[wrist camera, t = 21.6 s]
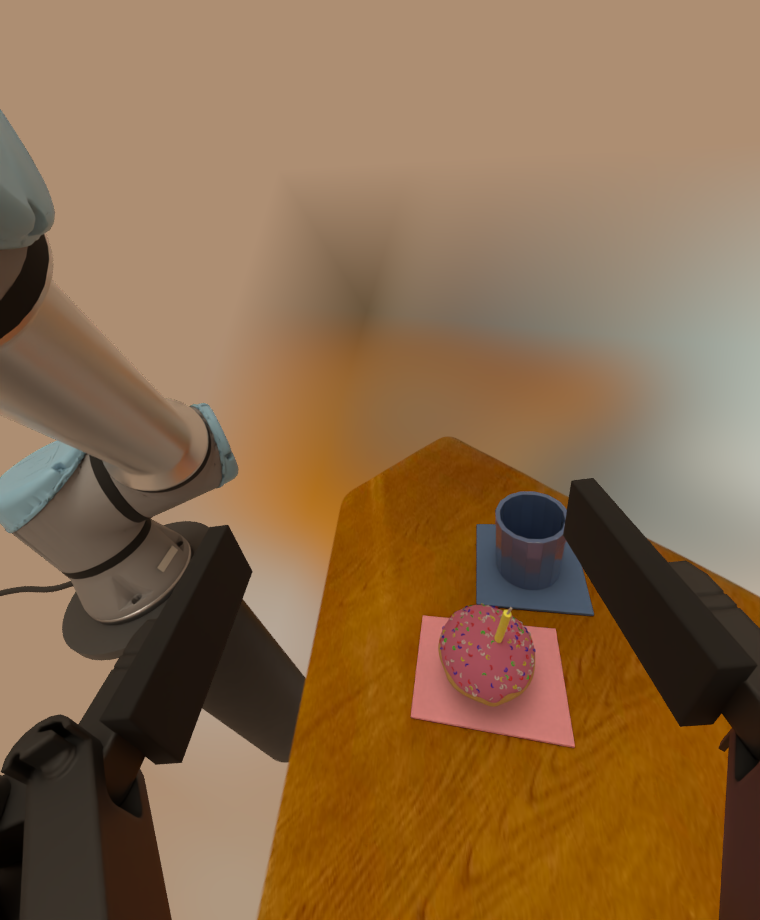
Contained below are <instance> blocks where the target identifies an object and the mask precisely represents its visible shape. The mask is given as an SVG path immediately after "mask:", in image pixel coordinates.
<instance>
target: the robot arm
mask: <svg viewBox="0 0 760 920" xmlns="http://www.w3.org/2000/svg"><path fill="white" fill-rule="evenodd" d="M54 215H55V211H54V207H53V203H52V200H51V197H50V194H49V191H48V189H47V187H46V184H45V182H44V180H43V178H42V176H41V174H40V173H39V171H38V169H37V167H36V165H35V164H34V162H33V160H32V158H31V156H30V155H29V153H28V151H27V150H26V148H25V146H24V145H23V143H22V142H21V140H20V139H19V137H18V135H17V134H16V132H15V130H14V129H13V127H12V126H11V124H10V123H9V121H8V120H7V118H6V117H5V115H4V114H3V112H2V111H1V110H0V415H1V416H3V417H6V418H8V419H10V420H12V421H14V422H17V423H19V424H21V425H23V426H26V427H28V428H30V429H33V430H35V431H37V432H39V433H42V434H44V435H46V436H48V437H51V438H53V439H55V440H57V441H55V442H53V443H51V444H48V445H46V446H44V447H42V448H41V449H39V450H37V451H35V452H34V453H32V454H30V455H29V456H27V457H26V458H24V459H23V460H21V461H20V462H18V463H17V464H16V465H14V466H13V467H12V468H11V469H9V470H8V471H7V472H5V473H4V474H3V475H2V476H1V477H0V524H1V525H2V526H3V527H4V528H5V530H6V531H7V532H8V533H12V534H14V536H16V537H17V538H18V539H20V540H21V541H22V542H23V543H25V544H26V545H27V546H29V547H30V548H31V549H32V550H34V551H35V552H36V553H38V554H39V555H40V556H41V557H43V558H44V559H45V560H47V561H48V562H49V563H51V564H52V565H53V566H54V567H56V568H57V569H58V570H60V571H61V572H62V573H63V574H65V575H66V576H67V577H68V578H69V579H70V580H71V581H69V582H67V583H63V584H60V585H56V586H49V587H35V586H27V587H26V586H24V587H16V588H10V589H5V590H1V591H0V596H3V595H7V594H12V593H19V592H54V591H59V590H62V589H65V588H68V587H72V586H74V588H75V590H76V593H77V595H78V597H79V599H80V601H81V603H82V605H83V607H84V609H85V611H86V612H87V613H88V614H89V615H90V616H91V617H92V618H93V619H95V620H96V621H97V622H99V623H101V624H104V625H120V624H125V623H128V622H131V621H133V620H136V619H138V618H140V617H142V616H144V615H146V614H148V613H149V612H151V611H153V610H154V609H155V608H157V607H158V606H160V605H161V604H162V603H163V602H165V601H166V600H167V599H168V598H169V599H168V601H167V603H166V604H165V606H164V608H163V610H162V611H161V613H160V615H159V617H158V618H157V619H149V620H147V621H146V622H145V623H144V624H143V625H142V626H141V627H140V628H139V629H138V630H137V631H136V632H135V634H134V635H133V636H132V638H131V639H130V641H129V642H128V644H127V646H126V647H125V649H124V651H123V655H121V656H120V657H119V659H118V661H117V662H116V664H115V666H114V669H113V670H111V672H110V674H109V675H108V677H107V679H106V680H105V682H104V683H103V685H102V687H101V688H100V690H99V692H98V693H97V695H96V697H95V698H94V700H93V702H92V703H91V705H90V706H89V708H88V710H87V711H86V713H85V715H84V716H83V718H82V720H81V721H80V723H79V724H76V723H75V722H74V721H72V720H71V719H70V718H68V717H66V716H63V715H56V716H51V717H49V718H47V719H45V720H43V721H41V722H39V723H38V724H36V725H35V726H34V727H32V728H31V729H30V730H29V731H28V732H26V733H25V734H24V735H23V736H22V737H21V738H20V739H19V741H18V742H17V743H16V744H15V745H14V746H13V748H12V749H11V751H10V752H9V754H8V755H7V757H6V759H5V761H4V764H3V767H2V770H1V772H2V773H4V774H5V775H3V776H1V775H0V920H172V919H171V914H170V909H169V903H168V898H167V893H166V888H165V883H164V878H163V872H162V867H161V862H160V857H159V852H158V847H157V841H156V836H155V831H154V826H153V821H152V816H151V810H150V805H149V800H148V795H147V790H146V784H145V779H144V775H143V774H142V772H141V770H140V767H141V764H142V762H143V760H144V758H145V757H147V758H148V759H149V760H151V761H152V762H153V763H155V764H169V763H182V760H183V757H184V755H185V752H186V749H187V747H188V744H189V741H190V738H191V736H192V733H193V730H194V728H195V725H196V722H197V720H198V717H199V714H200V712H201V709H202V706H203V704H204V701H205V698H206V696H207V693H208V690H209V687H210V685H211V682H212V679H213V677H214V674H215V671H216V669H217V666H218V663H219V660H220V658H221V655H222V652H223V650H224V647H225V644H226V642H227V639H228V636H229V633H230V631H231V628H232V625H233V623H234V620H235V617H236V615H237V612H238V609H239V606H240V604H241V601H242V598H243V596H244V593H245V590H246V587H247V585H248V582H249V579H250V577H251V574H252V570H251V568H250V566H249V564H248V562H247V560H246V558H245V557H244V555H243V553H242V551H241V549H240V547H239V545H238V543H237V541H236V539H235V537H234V535H233V533H232V532H231V530H230V528H229V526H228V525H223V526H215V527H209V529H208V531H207V533H206V534H205V536H204V538H203V540H202V541H201V543H200V545H199V547H198V548H197V550H196V552H195V554H194V553H193V549H192V547H191V545H190V544H189V543H188V541H187V540H186V539H185V538H184V537H183V536H181V535H180V534H179V533H177V532H175V531H173V530H171V529H169V528H167V527H165V526H163V525H161V524H159V523H157V522H155V521H154V520H152V519H151V518H152V517H153V516H155V515H157V514H160V513H162V512H164V511H166V510H169V509H171V508H173V507H175V506H177V505H180V504H182V503H184V502H186V501H188V500H191V499H193V498H195V497H197V496H200V495H202V494H204V493H206V492H208V491H211V490H213V489H215V488H220V487H221V486H223V485H224V484H225V483H227V482H229V481H231V480H232V479H234V478H235V477H236V476H237V474H238V466H237V463H236V460H235V457H234V455H233V453H232V452H231V448H230V445H229V443H228V441H227V439H226V436H225V434H224V432H223V430H222V428H221V426H220V424H219V422H218V420H217V418H216V416H215V414H214V412H213V410H212V409H211V408H210V406H209V405H208V404H205V403H201V404H198V405H196V404H193V405H191V406H188V405H186V404H184V403H182V402H179V401H177V400H173V399H168V398H164V397H163V395H162V394H161V393H160V392H159V391H158V390H157V389H156V388H155V387H154V386H153V385H152V384H151V383H150V382H149V381H148V380H147V379H146V378H145V377H144V376H143V374H142V373H141V372H139V370H138V369H137V368H136V367H135V366H134V365H133V364H132V363H131V362H130V361H129V360H128V359H127V358H126V357H125V356H124V355H123V353H122V352H121V351H119V349H118V348H116V346H115V345H114V344H113V343H112V342H111V341H110V340H109V339H108V338H107V337H106V336H105V335H104V334H103V332H102V331H101V330H100V329H99V328H98V327H97V326H96V325H95V324H94V323H93V322H92V321H91V320H90V319H89V318H88V317H87V316H86V315H85V314H84V312H82V310H81V309H80V308H79V307H78V306H77V305H76V304H75V303H74V302H73V301H72V300H71V299H70V298H69V297H68V296H67V295H66V294H65V293H64V292H63V290H61V288H60V287H59V286H58V285H57V284H56V283H55V282H54V281H53V280H52V273H53V257H52V250H51V247H50V243H49V240H48V237H47V235H46V232H47V231H49V230H50V229H51V227H52V225H53V222H54ZM563 536H564V538H565V539H566V541H567V543H568V544H569V546H570V548H571V549H572V551H573V553H574V554H575V556H576V557H577V559H578V561H579V562H580V564H581V566H582V567H583V569H584V570H585V572H586V574H587V575H588V577H589V579H590V580H591V582H592V584H593V585H594V587H595V588H596V590H597V592H598V593H599V595H600V597H601V598H602V600H603V601H604V603H605V605H606V606H607V608H608V610H609V611H610V613H611V615H612V616H613V618H614V619H615V621H616V623H617V624H618V626H619V628H620V629H621V631H622V633H623V634H624V636H625V637H626V639H627V641H628V642H629V644H630V646H631V647H632V649H633V650H634V652H635V654H636V655H637V657H638V659H639V660H640V662H641V664H642V665H643V667H644V668H645V670H646V672H647V673H648V675H649V677H650V678H651V680H652V681H653V683H654V685H655V686H656V688H657V690H658V691H659V693H660V695H661V696H662V698H663V699H664V701H665V703H666V704H667V706H668V708H669V709H670V711H671V712H672V714H673V716H674V717H675V719H676V721H677V722H678V724H679V726H680V727H682V726H696V725H710V724H714V722H715V721H716V720H717V718H718V717H719V716H720V714H721V713H722V714H723V716H724V717H725V718H726V720H727V721H728V722H729V724H730V725H731V727H732V729H731V730H730V731H729V732H728V734H727V735H726V736H725V737H724V738H723V740H722V741H721V743H720V746H719V749H720V750H722V751H724V752H725V751H726V749H727V748H728V747H729V754H728V771H727V788H726V806H725V823H724V840H723V858H722V875H721V893H720V910H719V920H760V628H759V627H758V626H757V625H756V624H755V623H754V622H753V621H752V620H751V619H750V618H749V617H748V616H747V615H746V614H745V613H744V612H743V611H742V610H741V609H740V608H737V605H736V604H735V603H734V601H733V600H732V599H731V598H730V597H729V596H728V595H727V594H724V593H723V590H722V589H721V588H720V587H719V586H718V585H717V584H716V583H715V582H714V581H713V580H712V579H711V578H710V577H709V576H708V575H707V574H706V573H704V572H703V571H701V570H700V569H698V568H697V567H695V566H693V565H692V564H690V563H689V562H687V561H678V562H669V563H668V562H667V561H666V560H665V559H664V558H663V557H662V555H661V554H660V553H659V552H658V551H657V550H656V549H655V547H654V546H653V545H652V544H651V543H650V542H649V541H648V540H647V538H646V537H645V536H644V535H643V534H642V533H641V532H640V530H639V529H638V528H637V527H636V526H635V525H634V524H633V523H632V521H631V520H630V519H629V518H628V517H627V516H626V515H625V513H624V512H623V511H622V510H621V509H620V508H619V507H618V506H617V504H616V503H615V502H614V501H613V500H612V499H611V498H610V496H609V495H608V494H607V493H606V492H605V491H604V490H603V488H602V487H601V486H600V485H599V484H598V483H597V482H596V481H595V480H594V478H590V479H582V480H574V481H572V482H571V487H570V494H569V500H568V507H567V513H566V519H565V526H564V532H563Z"/></svg>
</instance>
